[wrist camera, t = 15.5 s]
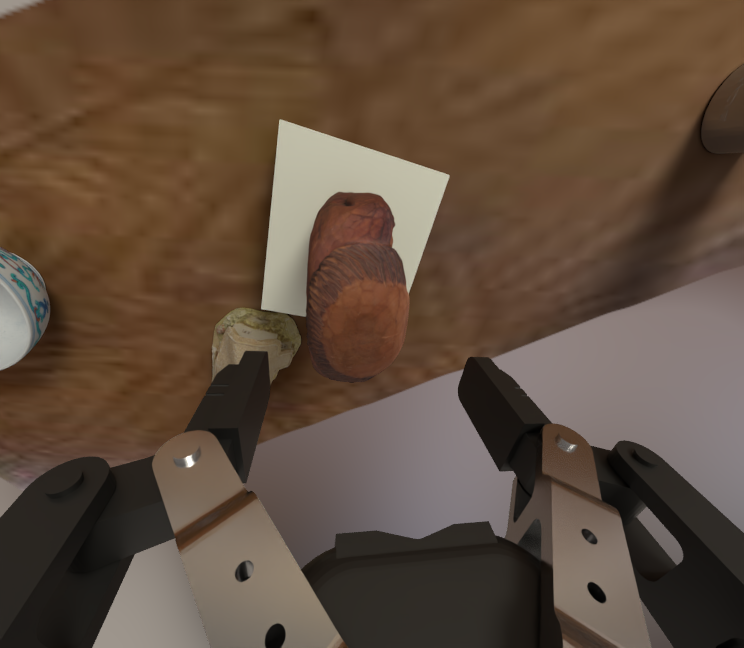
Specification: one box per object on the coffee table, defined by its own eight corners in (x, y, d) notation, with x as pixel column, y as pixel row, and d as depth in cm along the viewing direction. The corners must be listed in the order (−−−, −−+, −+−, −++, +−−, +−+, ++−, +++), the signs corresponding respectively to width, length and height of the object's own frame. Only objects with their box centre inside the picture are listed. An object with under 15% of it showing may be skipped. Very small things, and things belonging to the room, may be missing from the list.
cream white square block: (430, 174, 32) (449, 175, 27) (386, 311, 40) (395, 332, 35) (289, 128, 29) (279, 119, 23) (271, 289, 37) (261, 309, 31)
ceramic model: (224, 292, 36) (190, 331, 27) (310, 320, 39) (304, 363, 30) (203, 375, 41) (169, 430, 32) (280, 393, 44) (267, 447, 36)
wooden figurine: (370, 301, 33) (411, 421, 17) (314, 300, 31) (302, 426, 16) (381, 189, 27) (458, 211, 11) (314, 182, 26) (296, 197, 10)
